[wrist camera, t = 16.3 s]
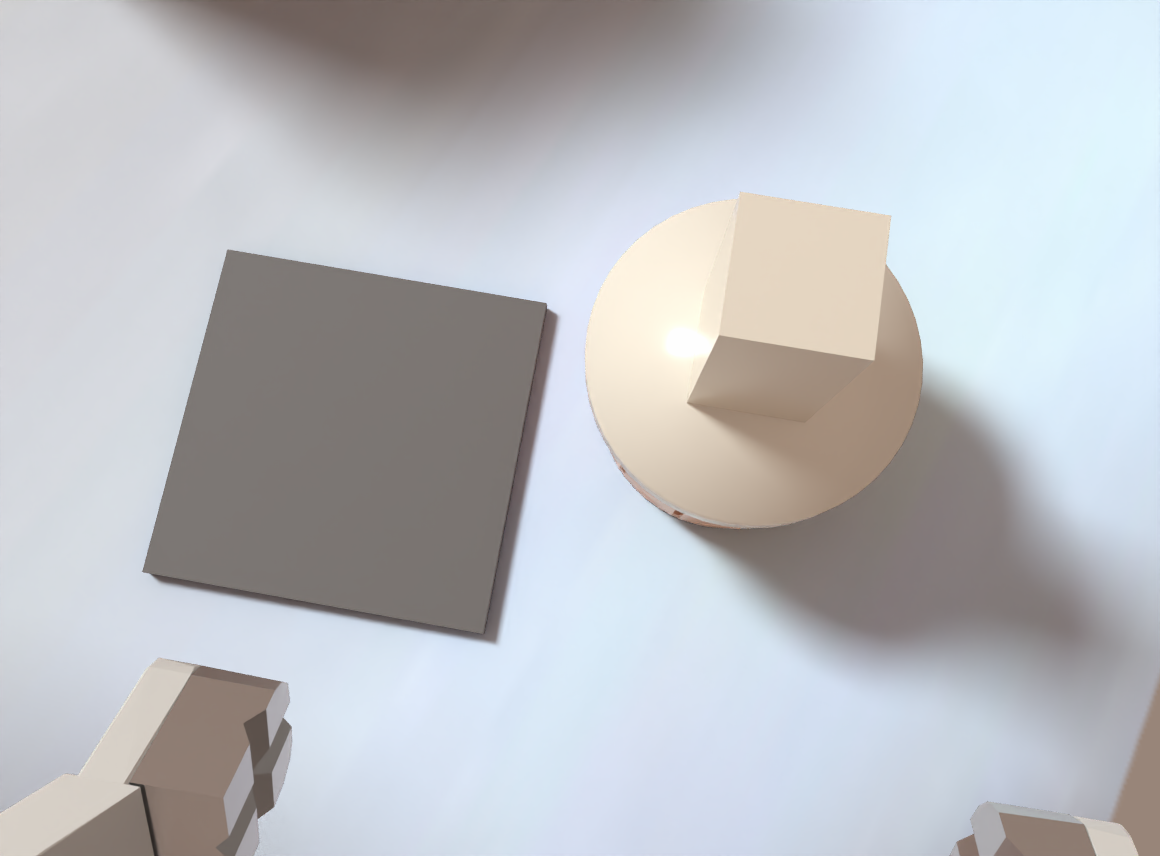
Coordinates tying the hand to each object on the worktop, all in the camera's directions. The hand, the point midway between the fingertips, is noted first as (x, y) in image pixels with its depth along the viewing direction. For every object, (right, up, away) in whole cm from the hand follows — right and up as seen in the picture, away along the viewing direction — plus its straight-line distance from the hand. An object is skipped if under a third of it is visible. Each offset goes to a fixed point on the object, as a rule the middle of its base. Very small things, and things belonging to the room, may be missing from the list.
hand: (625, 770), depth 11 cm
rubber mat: (-9, +4, +23) cm, 25 cm away
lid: (+5, +6, +18) cm, 20 cm away
